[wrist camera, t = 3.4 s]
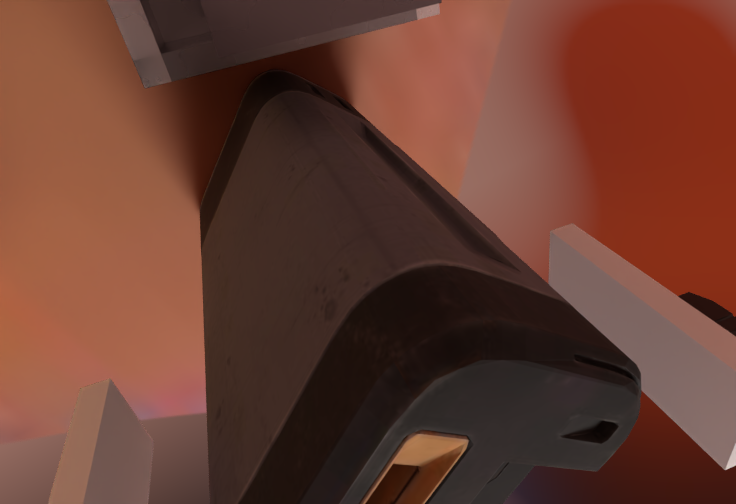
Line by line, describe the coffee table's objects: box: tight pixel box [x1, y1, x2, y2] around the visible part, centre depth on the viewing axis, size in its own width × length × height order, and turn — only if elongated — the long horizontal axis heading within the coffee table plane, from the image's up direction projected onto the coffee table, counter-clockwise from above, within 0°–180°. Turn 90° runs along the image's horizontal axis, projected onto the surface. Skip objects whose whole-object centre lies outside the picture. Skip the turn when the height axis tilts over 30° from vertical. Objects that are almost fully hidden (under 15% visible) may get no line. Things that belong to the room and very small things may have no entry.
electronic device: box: [200, 70, 641, 504], centre depth 17 cm, size 9×6×20 cm, turn 151°
